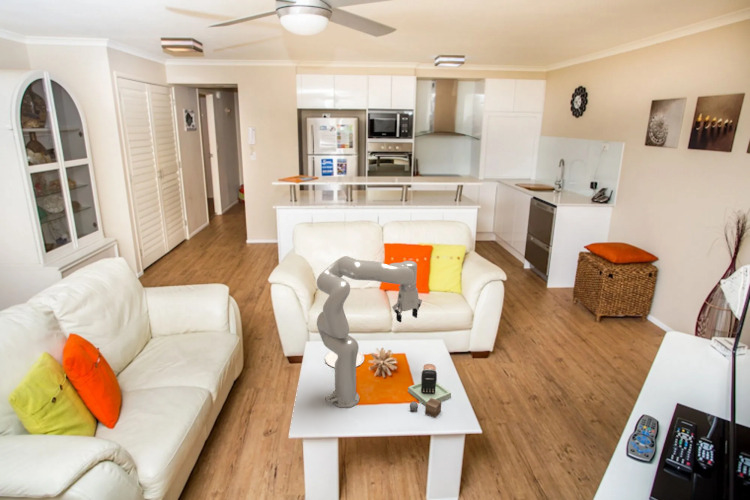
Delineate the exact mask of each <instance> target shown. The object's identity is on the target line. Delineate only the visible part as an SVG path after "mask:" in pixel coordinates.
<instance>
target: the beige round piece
mask: <svg viewBox="0 0 750 500" xmlns="http://www.w3.org/2000/svg"><path fill="white" fill-rule="evenodd" d="M422 367H423V368H422V371H423V370H424V369H433V370H435V371H436V372H437V369H436V368H437V367H436V365H435V364H433V363H425V364H423V366H422Z"/></svg>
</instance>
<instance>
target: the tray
mask: <svg viewBox="0 0 750 500" xmlns="http://www.w3.org/2000/svg"><path fill="white" fill-rule="evenodd" d="M407 388H408V389H407V393H409V394H410V395H411V396H413V397H414V398H415V399H416V400H417V401H419V403H421V404H422V405H423V406H425V407H426V403H427V402H428V401H429V400H430V399H431V398H433V399H435V400H438V401H440V402H441V403H442V402H443V401H446V400H448V399H450V398H451V397H452V392H450V391H449V390H448V389H447V388H445V387H444V385H441V384H440V383H439V382H437V381H436V389H435V394H424V393H422V392H421V381H420V382H417V383H415V384H413V385H410V386H408V387H407Z"/></svg>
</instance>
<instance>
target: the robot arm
mask: <svg viewBox="0 0 750 500" xmlns="http://www.w3.org/2000/svg"><path fill="white" fill-rule="evenodd" d="M417 272H418V264H417V262H415V261H413V260H404V261H402V262H393V263H389V264H386V263H383V262H381V261H380V262H379V261H373V260H363V259H362V260H360V259H356V258H353V257H351V256H349V255H347V256H345V255H344V256H341V257H340V258H338V259H337V260H335V261H334V262H333V263H331V264H330V265H329V266H328V267H326V268H325V270H324V271H322V272H321V273H320V274H319V275H318V277H317V279H316V287H317V289H319V291H321V292H323V293H325V294H327V295H328V297H327V299H326V300H325V302H324V304H323V306H322V311H321V312H320V313H319V314H318V316H317V318H316V327H317V330H318V332H319V333H318V334H319V336H320V338H321V340H322V342H323V345H324V346H325V347H326V348H327V349H328V350H330V352H331V351H333V352H334V353H335V354H337V356H338V358H337V360H336V362H335V368H334V390H332V393H331V394H330V395H327V396H325V397H324V400H325V402H328V401H329V402H330V403H332V404H333V405H335V406H336V407H337V408H343V409H344V408H345V409H347V408H352V407H354V406H356V405H357V404H358V403H359V401H360V395H359V393H358V392H357V367H356V359H357V353H358V351H359V342H357V340H356V339H355V337H354V338H353V337H352V336H351V335H349V333H350V326H349V323H348V319H347V317H346V313H345V309H344V304H345V302H346V300H347V298H348V296H349V295H350V292H351V285H350V283H349V281H347V280H346V279H345V278H343V276H344V277H346V278H349V279H351V280H355V281H371V282H373V281H375V282H380V283H385V284H386V283H387V284H392V285H399V286H398V289H399V290H398V294H397V302H396V303H395V304H394V305H393V306H392V310H393V312H394V313H395V314H396V321H397V322H398V323H402V317H403V315H402V313H403V312H408V311H412V312H411V313H412V314H411V315H412V317H414V318H416V319H417V318H418V311H419V310H420V307H421V306H422V305H421V304H422V302H423V300H422V299H420V298H419V291H418V288H417Z"/></svg>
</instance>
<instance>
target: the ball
mask: <svg viewBox="0 0 750 500" xmlns="http://www.w3.org/2000/svg"><path fill="white" fill-rule="evenodd" d="M418 407H419V405H418V403H417V401H411V402H410V404H409V408H410V409H411V410H412V411H416V410H418Z"/></svg>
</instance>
